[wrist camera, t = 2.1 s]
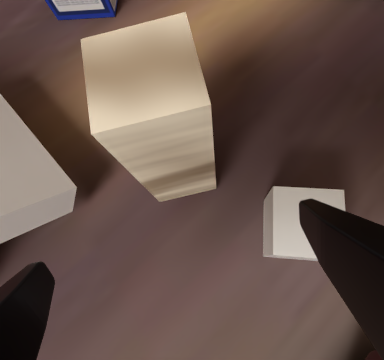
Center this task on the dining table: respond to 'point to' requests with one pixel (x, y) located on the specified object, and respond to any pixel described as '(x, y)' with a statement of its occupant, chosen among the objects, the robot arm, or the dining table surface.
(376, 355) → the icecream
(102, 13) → the milk carton
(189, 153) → the birch block
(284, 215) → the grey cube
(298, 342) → the dining table surface
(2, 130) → the pizza boxes
